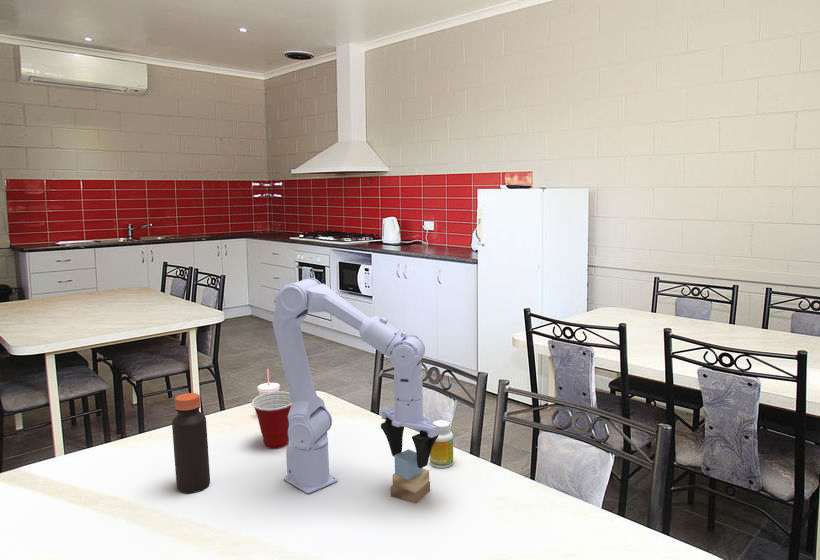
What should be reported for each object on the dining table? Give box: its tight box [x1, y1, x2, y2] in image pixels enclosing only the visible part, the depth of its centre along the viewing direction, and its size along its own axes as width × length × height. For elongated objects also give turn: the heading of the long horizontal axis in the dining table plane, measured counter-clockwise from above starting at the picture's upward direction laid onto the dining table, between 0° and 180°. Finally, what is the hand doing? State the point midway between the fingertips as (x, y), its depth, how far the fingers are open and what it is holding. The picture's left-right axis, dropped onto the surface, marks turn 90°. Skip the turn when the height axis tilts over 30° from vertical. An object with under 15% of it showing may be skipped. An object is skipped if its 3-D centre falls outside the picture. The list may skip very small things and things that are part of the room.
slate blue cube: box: [393, 448, 422, 480], centre depth 120 cm, size 4×4×4 cm
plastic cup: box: [251, 390, 292, 449], centre depth 146 cm, size 11×11×12 cm
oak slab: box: [391, 467, 430, 493], centre depth 121 cm, size 6×6×2 cm
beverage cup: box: [257, 368, 281, 396], centre depth 165 cm, size 6×6×14 cm
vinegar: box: [171, 392, 211, 494], centre depth 124 cm, size 7×7×20 cm
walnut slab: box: [389, 480, 431, 504], centre depth 121 cm, size 6×6×2 cm
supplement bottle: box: [429, 419, 454, 469], centre depth 134 cm, size 5×5×10 cm
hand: (409, 460), depth 120 cm, fingers open, 7 cm apart
